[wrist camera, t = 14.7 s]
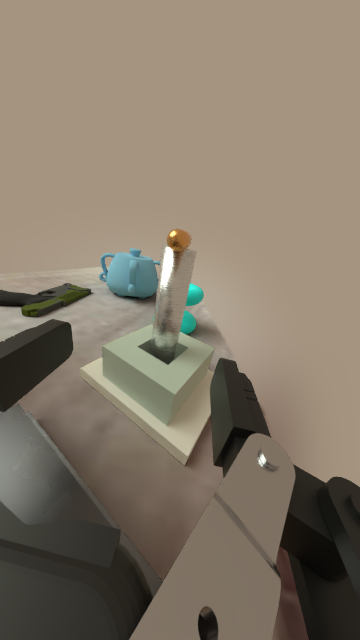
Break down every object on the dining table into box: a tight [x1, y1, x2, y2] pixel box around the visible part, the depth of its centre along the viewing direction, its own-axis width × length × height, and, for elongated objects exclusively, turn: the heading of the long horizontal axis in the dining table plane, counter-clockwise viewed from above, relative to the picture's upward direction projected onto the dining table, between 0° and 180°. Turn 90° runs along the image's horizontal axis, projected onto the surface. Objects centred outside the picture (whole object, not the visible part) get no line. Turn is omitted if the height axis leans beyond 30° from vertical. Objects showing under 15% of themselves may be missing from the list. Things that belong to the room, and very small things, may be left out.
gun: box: [0, 283, 91, 316], centre depth 40 cm, size 2×19×15 cm
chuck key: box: [150, 229, 196, 365], centre depth 19 cm, size 7×3×18 cm, turn 174°
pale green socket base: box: [80, 324, 215, 466], centre depth 22 cm, size 16×12×6 cm
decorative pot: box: [99, 248, 160, 299], centre depth 53 cm, size 16×16×14 cm
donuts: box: [153, 283, 204, 334], centre depth 38 cm, size 10×10×10 cm
